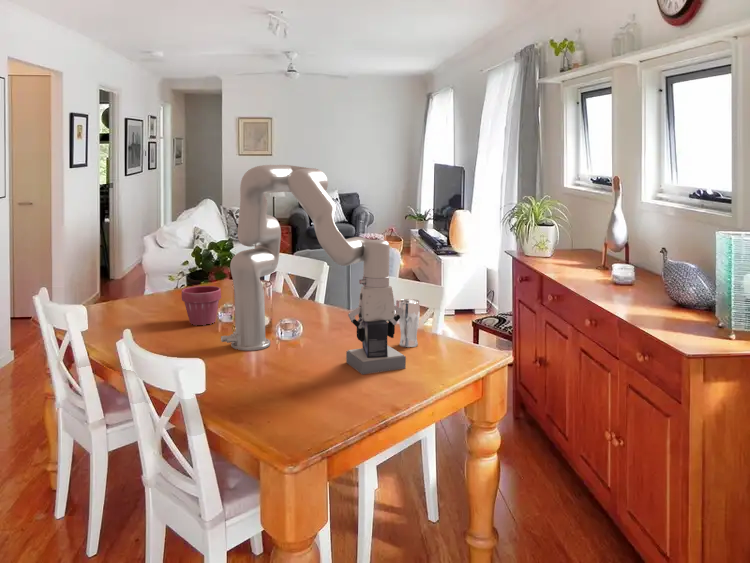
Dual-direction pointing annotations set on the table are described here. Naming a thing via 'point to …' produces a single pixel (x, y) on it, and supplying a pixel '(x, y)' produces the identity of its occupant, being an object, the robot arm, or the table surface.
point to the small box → (375, 339)
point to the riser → (375, 361)
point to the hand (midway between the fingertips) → (375, 338)
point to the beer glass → (409, 322)
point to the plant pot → (201, 303)
